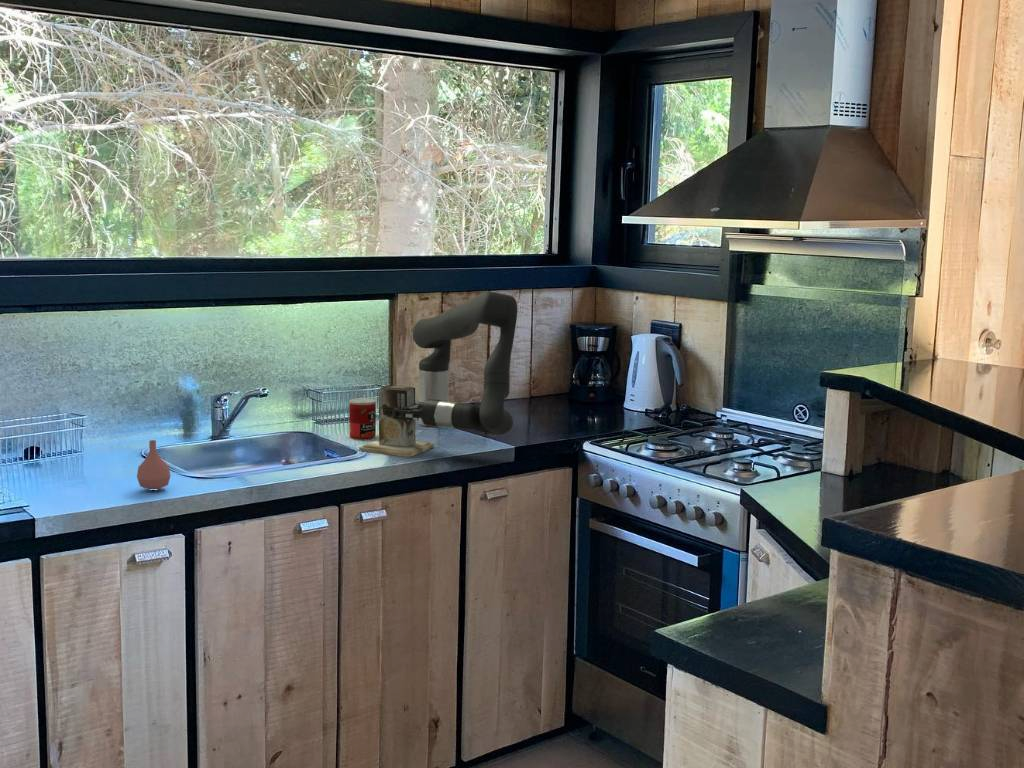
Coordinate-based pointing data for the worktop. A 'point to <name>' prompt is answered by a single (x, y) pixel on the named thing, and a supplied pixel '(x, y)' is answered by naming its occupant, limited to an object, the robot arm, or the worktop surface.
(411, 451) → the folded beige cloth
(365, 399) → the canned food
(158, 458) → the terracotta vase
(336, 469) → the worktop surface
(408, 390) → the coffee box
